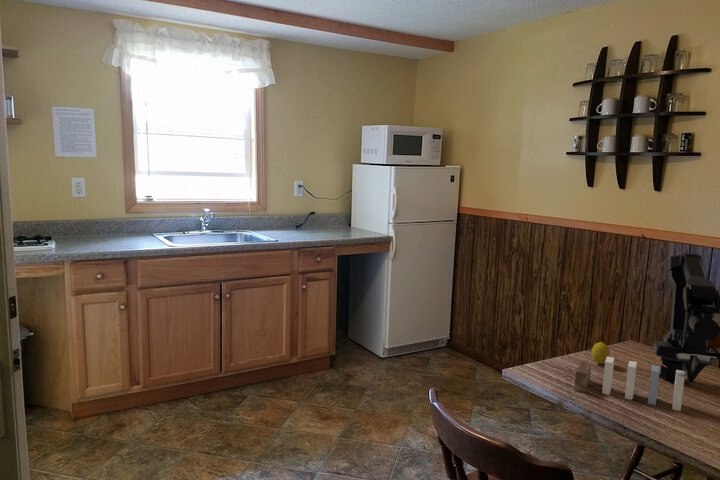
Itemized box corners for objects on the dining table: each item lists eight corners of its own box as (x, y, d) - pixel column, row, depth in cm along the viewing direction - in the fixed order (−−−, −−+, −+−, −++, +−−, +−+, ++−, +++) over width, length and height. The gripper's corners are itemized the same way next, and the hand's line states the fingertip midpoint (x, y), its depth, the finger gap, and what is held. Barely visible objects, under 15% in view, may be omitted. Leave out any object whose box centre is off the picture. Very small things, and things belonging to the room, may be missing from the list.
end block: (589, 380, 162) (591, 362, 162) (584, 392, 154) (586, 373, 153) (579, 378, 164) (581, 360, 163) (574, 390, 156) (575, 371, 155)
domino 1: (611, 388, 157) (614, 357, 156) (609, 394, 153) (612, 363, 151) (604, 387, 158) (607, 356, 157) (602, 393, 154) (605, 361, 152)
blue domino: (656, 398, 151) (659, 366, 149) (655, 405, 147) (659, 372, 145) (648, 396, 152) (651, 364, 150) (647, 403, 148) (651, 370, 146)
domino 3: (680, 404, 148) (684, 371, 146) (680, 411, 143) (684, 377, 142) (672, 402, 149) (676, 369, 147) (672, 409, 144) (676, 375, 143)
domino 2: (633, 393, 154) (636, 362, 152) (632, 400, 150) (635, 367, 148) (626, 392, 155) (629, 360, 153) (624, 398, 151) (627, 366, 149)
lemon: (611, 367, 174) (613, 345, 172) (594, 367, 174) (596, 344, 173) (603, 361, 179) (606, 339, 178) (588, 360, 179) (589, 339, 178)
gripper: (728, 324, 145) (721, 377, 148) (653, 316, 152) (648, 366, 154) (740, 336, 135) (733, 392, 137) (659, 327, 142) (653, 380, 144)
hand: (690, 382), depth 144 cm, fingers closed
